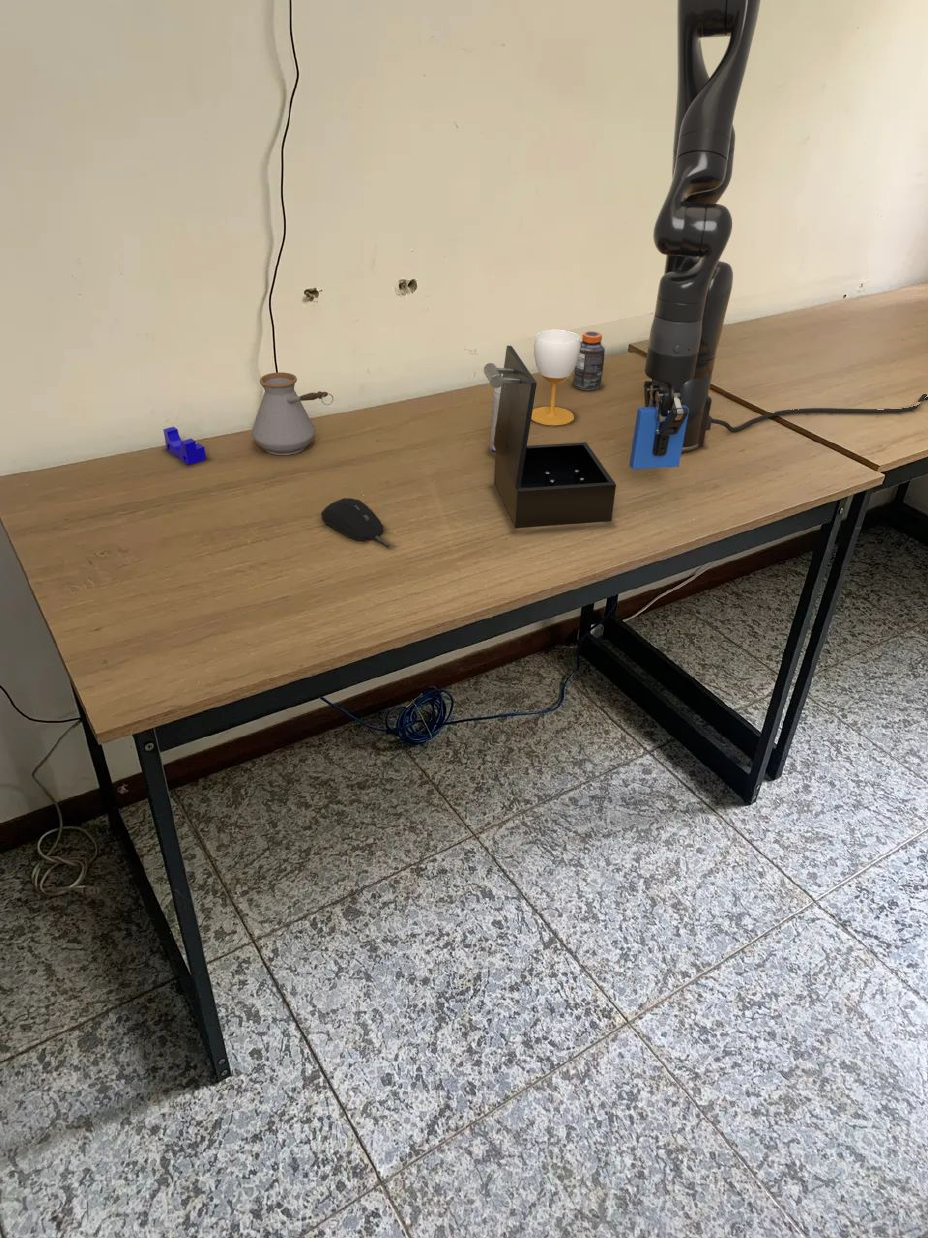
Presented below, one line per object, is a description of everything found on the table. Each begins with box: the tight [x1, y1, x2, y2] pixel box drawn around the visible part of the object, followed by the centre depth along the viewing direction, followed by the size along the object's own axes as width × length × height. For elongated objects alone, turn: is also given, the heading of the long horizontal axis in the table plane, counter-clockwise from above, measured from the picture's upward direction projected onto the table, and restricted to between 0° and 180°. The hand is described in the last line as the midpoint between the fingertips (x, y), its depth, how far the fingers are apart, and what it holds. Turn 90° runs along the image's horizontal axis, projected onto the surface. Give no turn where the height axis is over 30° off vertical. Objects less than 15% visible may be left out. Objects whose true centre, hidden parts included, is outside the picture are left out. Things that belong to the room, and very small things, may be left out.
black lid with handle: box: [483, 345, 538, 488], centre depth 139 cm, size 17×16×5 cm
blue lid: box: [629, 405, 689, 470], centre depth 145 cm, size 8×2×10 cm, turn 101°
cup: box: [531, 329, 581, 427], centre depth 176 cm, size 9×9×16 cm
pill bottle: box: [573, 330, 606, 391], centre depth 191 cm, size 6×6×11 cm
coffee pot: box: [251, 371, 334, 456], centre depth 159 cm, size 21×12×15 cm, turn 41°
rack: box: [544, 470, 584, 487], centre depth 149 cm, size 6×4×4 cm, turn 101°
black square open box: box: [493, 441, 617, 529], centre depth 148 cm, size 16×16×7 cm
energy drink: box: [489, 386, 501, 454], centre depth 163 cm, size 5×5×12 cm
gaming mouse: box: [321, 497, 391, 548], centre depth 141 cm, size 6×15×4 cm, turn 44°
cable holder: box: [162, 426, 207, 466], centre depth 162 cm, size 8×4×4 cm, turn 42°
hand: (656, 451), depth 147 cm, fingers closed on blue lid, 1 cm apart
